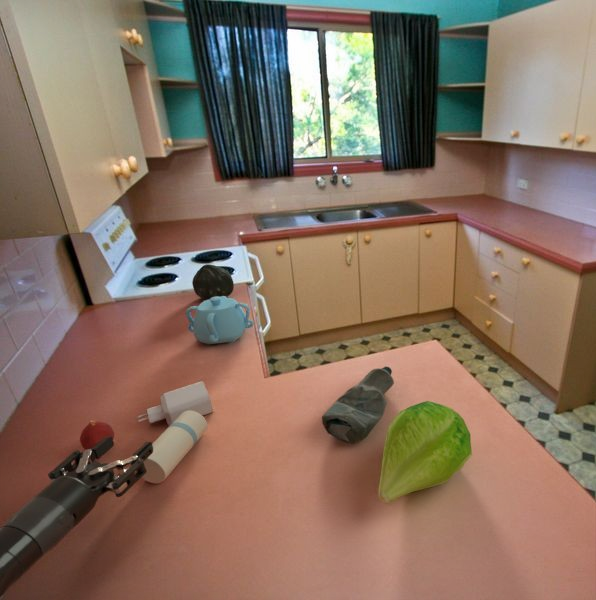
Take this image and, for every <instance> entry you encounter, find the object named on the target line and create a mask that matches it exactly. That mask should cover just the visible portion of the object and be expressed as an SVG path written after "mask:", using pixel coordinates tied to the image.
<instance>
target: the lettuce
mask: <svg viewBox="0 0 596 600" xmlns="http://www.w3.org/2000/svg"><path fill="white" fill-rule="evenodd" d="M382 454H383V455H382V460H381V461H382V462H381V472H380V478H379V484H378V499H379V500H380V501H381V502H382V503H384V504H387V503H391V502H393V501H394V500H397V499H399V498H401V497H403V496H405V495H408V494H409V493H412V492H417V491H420V490H425V489H428V488H432V487H436V486H439V485H442V484H445V483H446V482H448V481H449V480H450V479H451V478H452V477H453V476H454V475H456V473H457V472H459V471H460V470H461V469H462V468H463V467H464V466H465V464H466V463H467V462H468V461H469V459H471V457H472V456H473V450H472V441H471V433H470V430H469V428H468V426H467V424H466V422H465V420H464V418H463V417H462V416H461V415H460V413H458V412H457V411H455V410H454V409H453V408H451V407H449V406H446V405H443V404H440V403H437V402H433V401H431V400H426V401H422V402H420V403H417V404H413V405H411V406H408V407H406V408H404V409H403V410H401V411H400V412H399V413H398V414H397V415H396V416H395V417H394V418H393V420H392V422H391V423H390V425H389V426H388V427H387V431H386V437H385V442H384V448H383V453H382Z"/></svg>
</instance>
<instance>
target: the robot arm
mask: <svg viewBox="0 0 596 600" xmlns="http://www.w3.org/2000/svg"><path fill="white" fill-rule="evenodd" d="M152 444H153V443H152V442H151V441H146V442H144V443H143V444H142V445H141V446H140V447H139V448H137V450H136V451H135V452H133V454H132V455H131V456H130V457H127V458H125V459H123V460H121V459H117V460H114V461H113V462H110V463H109V462H108V463H107V462H106V463H101V462H99V461H96V460H99V459H100V458H101V457H103V456H104V455H105V454H106V453H108V452H109V450H110V449H112V448H113V447H114V446H115V442H114V439H112V437H109V436H107V437H105V438H104V439H103V440H101V441H100V442H99V443H97V444H96V445H95V446H94V447H92V448H91V449H88V450H85V449H84V451H80V450H75V451H73V452H72V453H71V454H70V455H69V456H67V457H66V458H65V459H63V461H61V462H60V463H59V464H58V465H57V466H56V467H55V468H53V469H52V470H51V471H50V472H49V473H48V474H47V476H48V478H49V480H50V483H49V484H48V485H47V486H46V487H44V488H43V489H42V490H41V491H40V492H38V493H37V494H36V495H34V497H33V498H31V499H30V500H29V501H27V502H26V503H25V504H24V505H23V506H22V507H21V508H19V509H18V510H17V511H16V512H15V513H14V514H13V515H11V517H9V518H8V520H7V521H6V522H5V523H4V524H3V525H1V527H0V600H1V599H2V598H3V597H4V595H5V594H6V593H7V591H8V590H10V588H11V587H13V586H14V585H15V584H16V583H17V582H18V581H19V580H20V579H21V578H22V577H23V576H25V574H26V573H27V572H29V570H31V568H33V567H34V566H35V565H36V564H37V563H38V561H39V560H40V559H42V557H44V556H45V555H46V554H48V553H49V552H50V551H51V550H53V549H54V548H55V547H56V546H57V545H58V544H59V543H60V542H61V541H63V539H65V537H66V536H67V535H68V534H69V533H71V531H72V530H74V528H75V527H77V525H78V524H79V523H80V522H81V521H83V520H84V519H85V517H87V515H88V514H90V513H91V512H92V510H94V509H95V507H96V504H97V502H98V500H99V498H100V497H102V496H103V495H105V494H106V493H108V492H110V493H113V494H114V495H115V497H116V498H121V497H122V496H123V495H125V494H126V493H127V492H128V491H129V490H130V489H131V488H133V486H134V485H135V484H136V483H137V482H139V480H140V479H142V478H141V477H142V476H143V475H144V474H145V473H146V472H147V470H146V468H145V465H144V461H145V460H146V459H147V458H148V457H149V456H150V455H151V454H152V453H153V446H152ZM73 462H74V463H73ZM129 465H130V466H129ZM126 466H129V467H127V468H125V467H126ZM115 469H117V471H118V474H117V475H115V471H114V470H115ZM136 471H137V472H136Z"/></svg>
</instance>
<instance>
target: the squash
mask: <svg viewBox="0 0 596 600" xmlns="http://www.w3.org/2000/svg"><path fill="white" fill-rule="evenodd" d="M191 282H192V283H191V285H192V287H193V291H194V293H195V295H196V296H197V297H198V298H200V300H202V301H203V302H204V301H206V300H209V299H210V298H212V297H221V296H226V297H228V296H230V295H232V293H233V291H234V288H235V284H234V280H233V277H232V275H231V274H230V272H229V271H228V270H227V269H226V268H223V267H220V266H217V265H214V264H209V263H207V264H204V265H202V266H201V267H200V268H199V269H198V270H197V272H195V275H194V276H193V277H192V281H191Z"/></svg>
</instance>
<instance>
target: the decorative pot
mask: <svg viewBox="0 0 596 600" xmlns="http://www.w3.org/2000/svg"><path fill="white" fill-rule="evenodd" d="M244 309H245V311H244ZM192 311H196V312H195V315H194V317H192V314H191V312H192ZM250 313H251V311H250V307H249V305H248V304H247V303H245V302H238V301H237V300H236V299H235V298H232V297H228V296H221V297H212V298H210V299H209V300H206V301H204V300H203V301H202V302H201V303H200V304H199V305H193V306H190V307H188V308H187V309H186V311H185V316H186V318H187V320H188V322H189V323H190V324H188V326H187V329H188V331H189V332H191V333H193V335H194V338H195V339H196V340H198V341H199V342H200V343H202V344H206V345H214V344H223V343H228V344H231V343H235V342H236V341H237V340H238V339H239V338H241V337H242V336H243V334H244V333H245V331H246V329H250V328H252V327H253V326H254V321H253V320H252V319H249V318H250Z"/></svg>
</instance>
